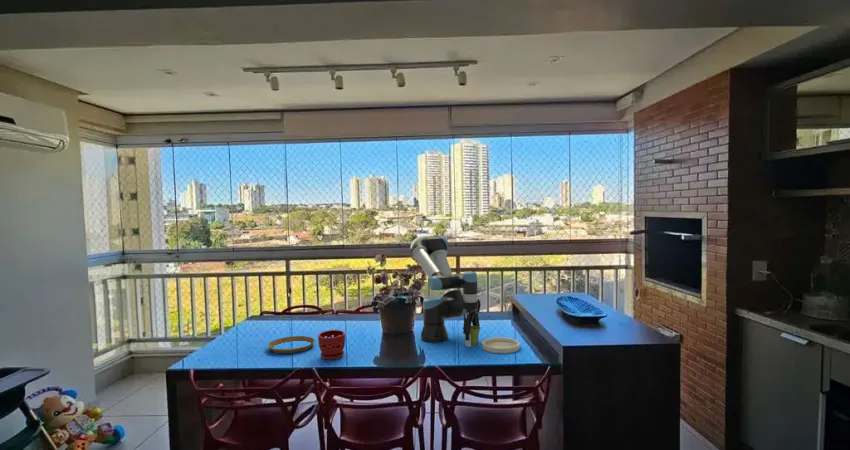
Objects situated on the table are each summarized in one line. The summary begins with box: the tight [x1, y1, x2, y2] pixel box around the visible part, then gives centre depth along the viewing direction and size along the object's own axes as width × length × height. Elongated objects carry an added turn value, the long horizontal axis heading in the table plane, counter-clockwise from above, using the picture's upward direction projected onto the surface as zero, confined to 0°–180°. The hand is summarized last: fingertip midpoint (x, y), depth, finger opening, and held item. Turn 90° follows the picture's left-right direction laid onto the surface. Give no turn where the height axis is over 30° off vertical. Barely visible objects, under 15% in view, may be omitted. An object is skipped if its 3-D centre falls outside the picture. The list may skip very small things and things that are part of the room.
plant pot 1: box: [317, 329, 346, 361], centre depth 220 cm, size 13×13×12 cm
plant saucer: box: [267, 335, 316, 354], centre depth 238 cm, size 24×24×3 cm
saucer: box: [481, 336, 521, 355], centre depth 226 cm, size 19×19×2 cm
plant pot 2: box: [470, 324, 481, 347], centre depth 234 cm, size 9×9×9 cm
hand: (472, 343), depth 234 cm, fingers open, 9 cm apart
